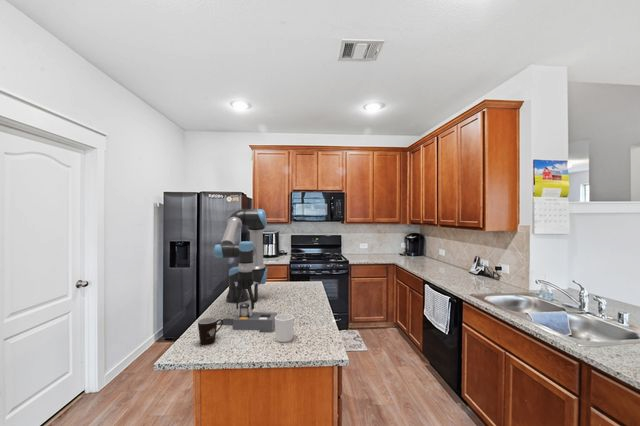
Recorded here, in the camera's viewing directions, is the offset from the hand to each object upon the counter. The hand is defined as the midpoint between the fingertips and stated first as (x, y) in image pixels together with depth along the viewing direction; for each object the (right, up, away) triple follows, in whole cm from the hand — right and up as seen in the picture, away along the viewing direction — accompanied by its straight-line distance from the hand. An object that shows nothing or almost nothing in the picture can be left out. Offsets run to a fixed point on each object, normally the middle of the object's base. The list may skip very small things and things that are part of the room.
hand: (245, 315), depth 151 cm
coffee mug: (-11, -6, -17) cm, 22 cm away
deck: (-10, -7, +6) cm, 13 cm away
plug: (0, -4, 0) cm, 4 cm away
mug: (+23, -6, -14) cm, 27 cm away
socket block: (+6, -6, 0) cm, 8 cm away
